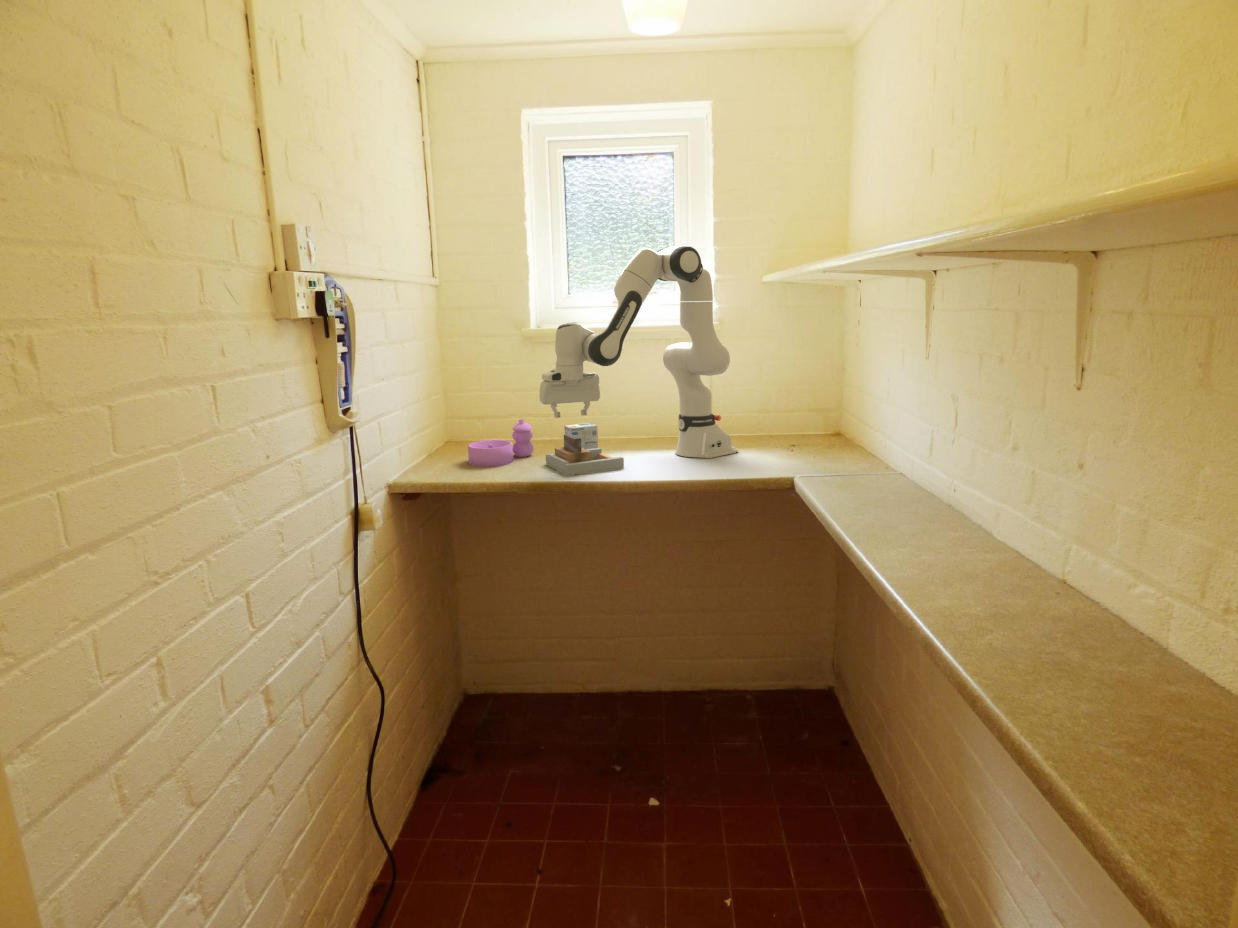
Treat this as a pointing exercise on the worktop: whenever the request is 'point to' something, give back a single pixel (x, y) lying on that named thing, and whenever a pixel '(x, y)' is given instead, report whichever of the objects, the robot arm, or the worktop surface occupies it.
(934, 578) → the worktop surface
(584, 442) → the light bulb box
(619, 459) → the bay
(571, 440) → the brown and grey block
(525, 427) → the container set
